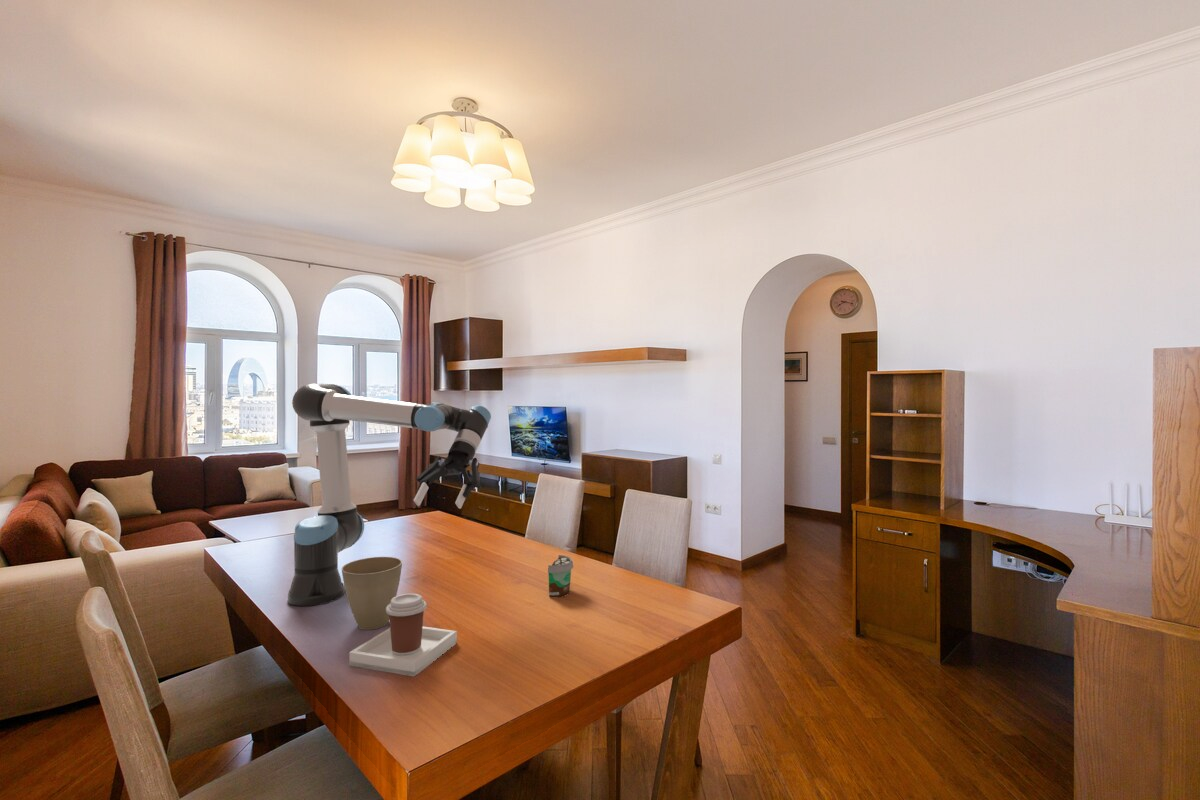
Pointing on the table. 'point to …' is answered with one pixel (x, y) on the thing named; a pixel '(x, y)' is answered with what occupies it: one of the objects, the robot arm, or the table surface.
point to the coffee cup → (406, 623)
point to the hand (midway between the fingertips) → (436, 504)
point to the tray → (382, 659)
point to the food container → (560, 576)
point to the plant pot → (371, 589)
